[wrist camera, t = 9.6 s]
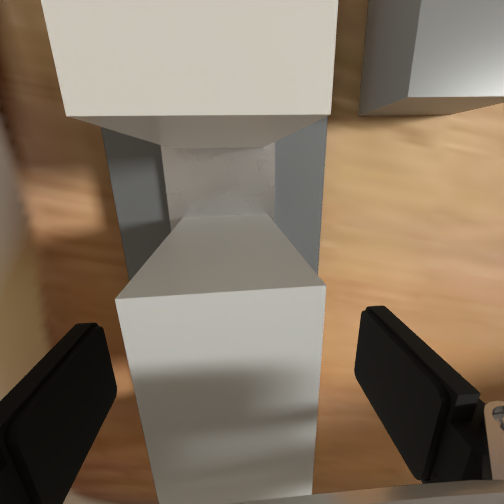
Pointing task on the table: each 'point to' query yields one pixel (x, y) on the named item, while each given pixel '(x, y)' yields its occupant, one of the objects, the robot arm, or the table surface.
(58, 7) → the mounted modules
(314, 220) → the rail board
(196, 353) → the block
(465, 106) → the block
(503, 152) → the table surface
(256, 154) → the metal rail
